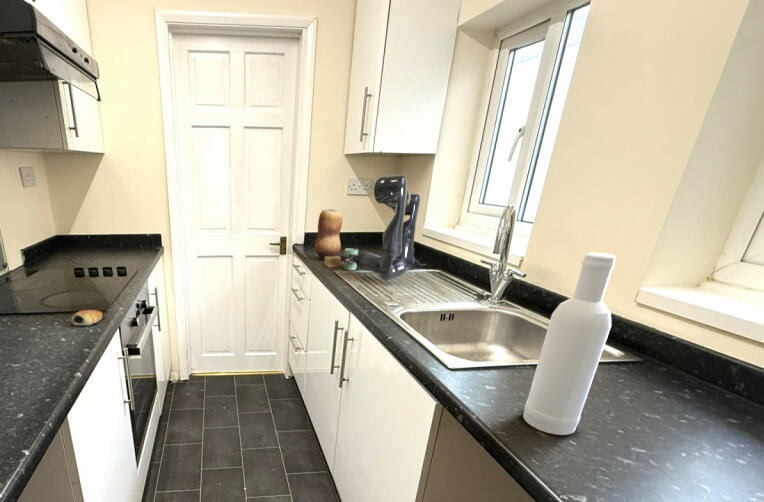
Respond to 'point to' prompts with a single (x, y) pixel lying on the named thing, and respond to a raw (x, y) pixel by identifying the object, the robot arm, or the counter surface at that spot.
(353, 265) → the cup
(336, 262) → the block
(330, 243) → the butternut squash
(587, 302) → the bottle
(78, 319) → the pastry
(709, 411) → the counter surface
